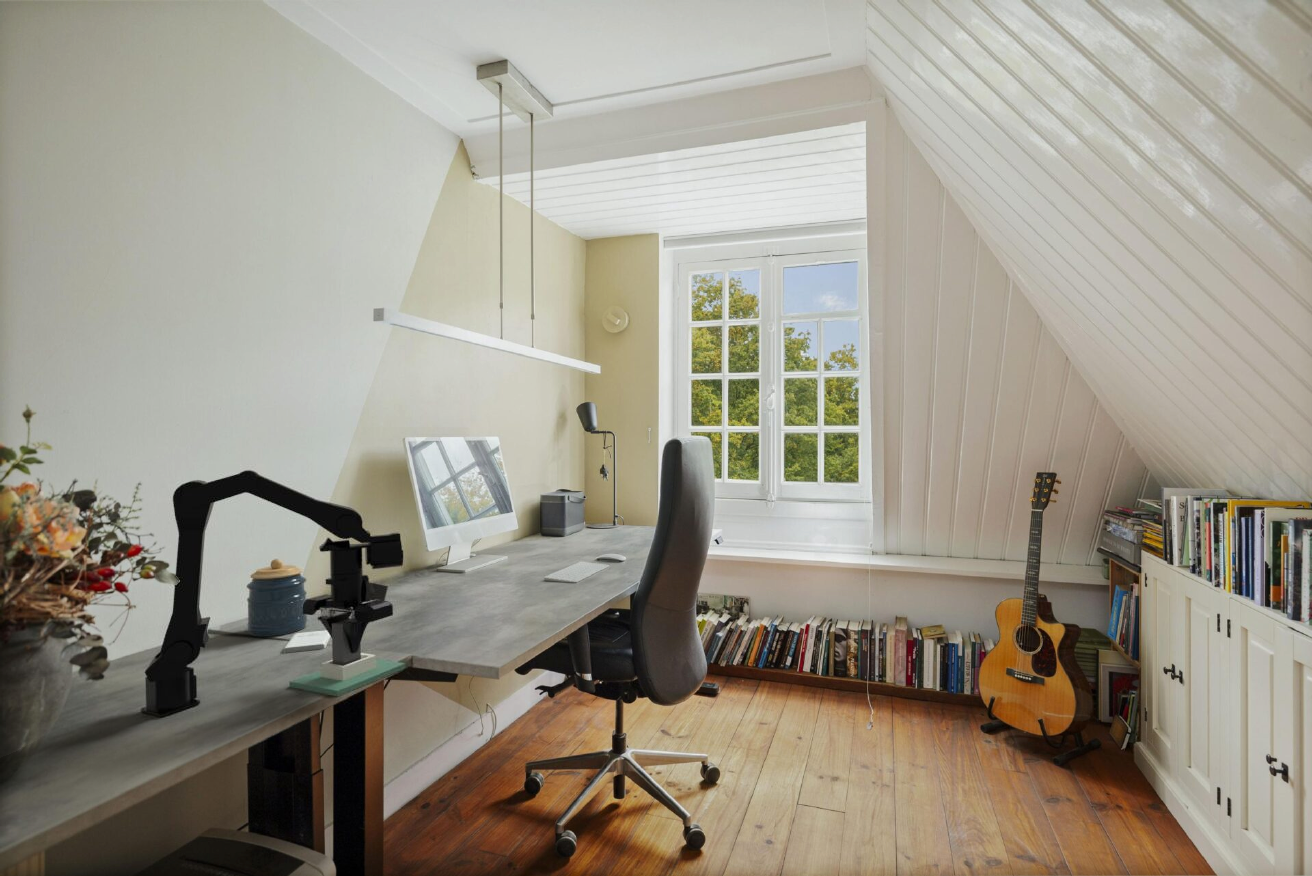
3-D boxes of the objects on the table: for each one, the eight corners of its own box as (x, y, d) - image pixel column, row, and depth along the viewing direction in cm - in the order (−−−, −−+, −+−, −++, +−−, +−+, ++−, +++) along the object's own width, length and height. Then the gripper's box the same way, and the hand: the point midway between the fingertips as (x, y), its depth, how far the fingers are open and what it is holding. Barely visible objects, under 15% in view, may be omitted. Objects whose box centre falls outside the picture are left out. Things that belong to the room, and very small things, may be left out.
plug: (343, 671, 129) (342, 624, 129) (332, 669, 130) (331, 623, 130) (364, 664, 134) (363, 618, 134) (353, 662, 135) (352, 617, 135)
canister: (306, 632, 165) (305, 560, 165) (245, 640, 159) (243, 565, 159) (308, 620, 177) (306, 552, 177) (250, 627, 171) (248, 557, 171)
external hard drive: (283, 655, 149) (294, 639, 161) (324, 650, 151) (332, 635, 163) (283, 647, 149) (294, 632, 161) (324, 643, 151) (332, 629, 163)
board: (337, 696, 122) (337, 677, 122) (289, 686, 128) (289, 668, 128) (405, 668, 137) (404, 651, 137) (359, 660, 142) (358, 644, 142)
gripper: (413, 567, 135) (415, 645, 135) (347, 562, 143) (348, 635, 143) (368, 578, 125) (370, 662, 125) (299, 571, 133) (301, 651, 133)
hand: (348, 651), depth 132 cm, fingers closed on plug, 3 cm apart
